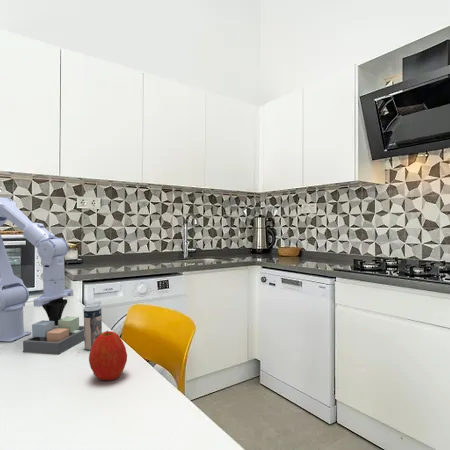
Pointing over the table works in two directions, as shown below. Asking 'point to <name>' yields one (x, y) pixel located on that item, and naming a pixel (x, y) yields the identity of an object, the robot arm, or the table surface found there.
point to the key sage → (69, 323)
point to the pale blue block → (42, 328)
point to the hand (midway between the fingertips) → (55, 324)
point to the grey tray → (53, 343)
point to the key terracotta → (57, 334)
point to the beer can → (92, 324)
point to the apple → (108, 356)
